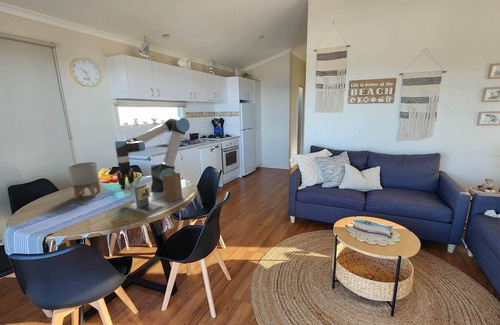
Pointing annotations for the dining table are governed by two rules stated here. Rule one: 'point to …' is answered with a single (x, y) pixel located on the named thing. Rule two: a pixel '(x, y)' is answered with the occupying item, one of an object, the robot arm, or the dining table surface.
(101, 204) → the dining table surface
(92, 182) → the planter
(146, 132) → the robot arm
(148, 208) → the jig
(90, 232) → the dining table surface
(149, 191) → the spacer
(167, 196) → the wooden block
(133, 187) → the shaft
